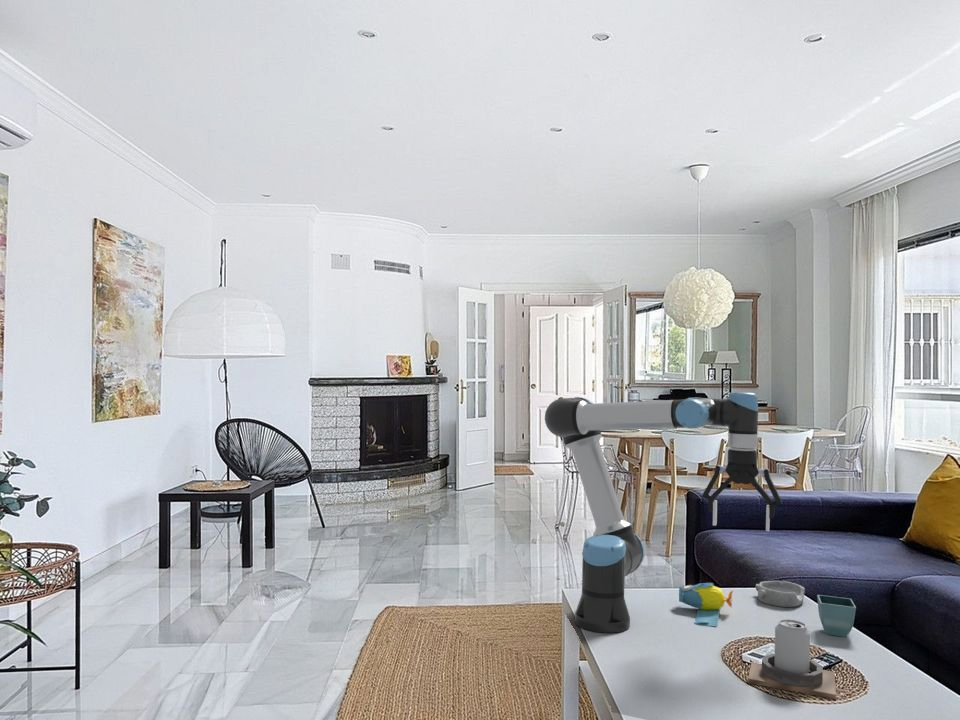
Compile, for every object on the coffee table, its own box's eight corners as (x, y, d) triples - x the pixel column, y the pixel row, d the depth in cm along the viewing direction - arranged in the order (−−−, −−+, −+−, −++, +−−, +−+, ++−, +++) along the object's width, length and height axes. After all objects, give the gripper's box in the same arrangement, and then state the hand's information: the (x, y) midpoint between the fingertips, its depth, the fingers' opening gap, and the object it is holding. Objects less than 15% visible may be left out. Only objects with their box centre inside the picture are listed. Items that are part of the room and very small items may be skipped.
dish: (804, 599, 235) (805, 583, 235) (804, 611, 222) (804, 594, 222) (756, 592, 241) (756, 577, 241) (753, 604, 228) (753, 588, 228)
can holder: (747, 682, 168) (748, 667, 168) (752, 661, 181) (752, 647, 181) (835, 699, 161) (836, 683, 161) (834, 676, 174) (834, 661, 174)
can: (812, 683, 167) (813, 629, 167) (777, 679, 168) (778, 626, 168) (805, 670, 174) (806, 618, 174) (771, 666, 175) (772, 615, 176)
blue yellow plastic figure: (730, 598, 204) (673, 592, 210) (730, 630, 204) (673, 623, 210) (734, 574, 230) (684, 569, 236) (734, 602, 230) (684, 596, 236)
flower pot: (851, 630, 206) (851, 598, 206) (855, 641, 198) (856, 607, 198) (816, 626, 209) (817, 594, 209) (819, 636, 200) (820, 603, 201)
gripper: (792, 451, 200) (791, 530, 199) (697, 445, 210) (695, 520, 209) (791, 453, 193) (790, 535, 192) (693, 447, 203) (691, 524, 203)
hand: (740, 527), depth 201 cm, fingers open, 13 cm apart
